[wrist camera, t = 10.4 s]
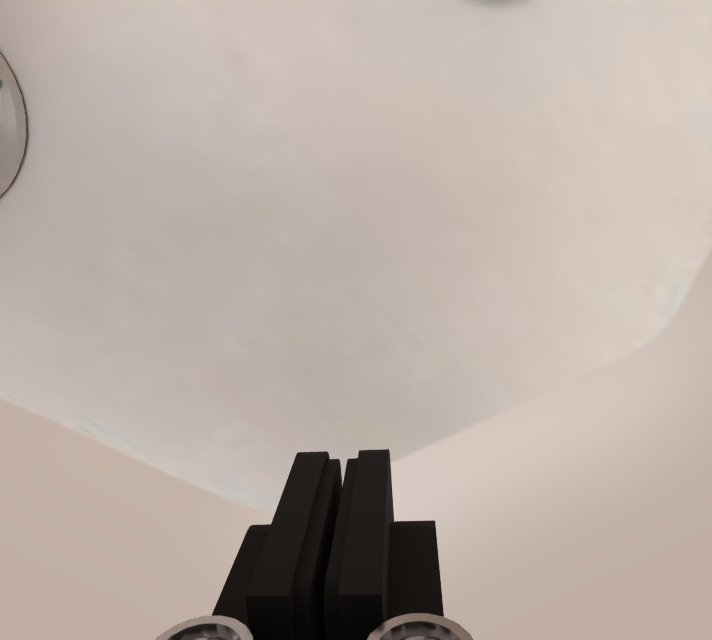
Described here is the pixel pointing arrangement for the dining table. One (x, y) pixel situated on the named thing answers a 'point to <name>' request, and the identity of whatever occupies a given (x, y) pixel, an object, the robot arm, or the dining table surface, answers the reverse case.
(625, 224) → the dining table surface
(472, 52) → the dining table surface
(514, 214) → the dining table surface
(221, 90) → the dining table surface
